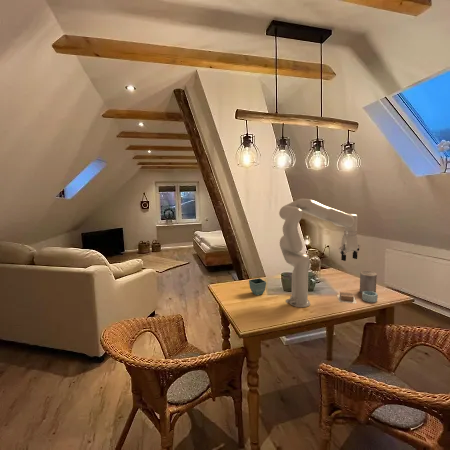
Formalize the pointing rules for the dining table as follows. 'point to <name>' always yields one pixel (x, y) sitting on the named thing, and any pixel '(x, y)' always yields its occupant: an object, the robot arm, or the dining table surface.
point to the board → (346, 296)
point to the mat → (346, 301)
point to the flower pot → (257, 286)
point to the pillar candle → (367, 281)
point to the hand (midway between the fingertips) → (349, 259)
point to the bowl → (369, 296)
